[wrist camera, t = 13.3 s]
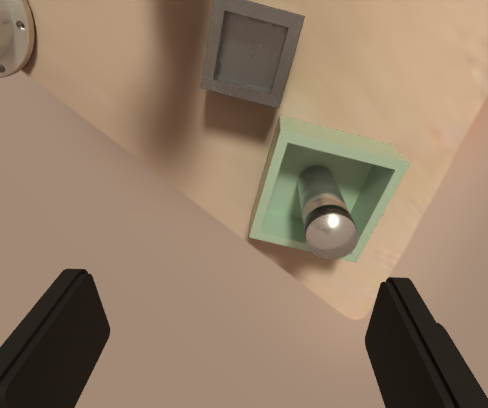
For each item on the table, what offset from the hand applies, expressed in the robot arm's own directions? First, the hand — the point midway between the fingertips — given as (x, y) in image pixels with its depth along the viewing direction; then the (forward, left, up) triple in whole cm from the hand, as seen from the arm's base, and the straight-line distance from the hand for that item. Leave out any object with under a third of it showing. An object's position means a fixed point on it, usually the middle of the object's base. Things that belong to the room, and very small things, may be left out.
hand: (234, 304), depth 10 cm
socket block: (-3, +6, -28) cm, 28 cm away
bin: (+8, -6, -28) cm, 30 cm away
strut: (+8, -6, -27) cm, 29 cm away
